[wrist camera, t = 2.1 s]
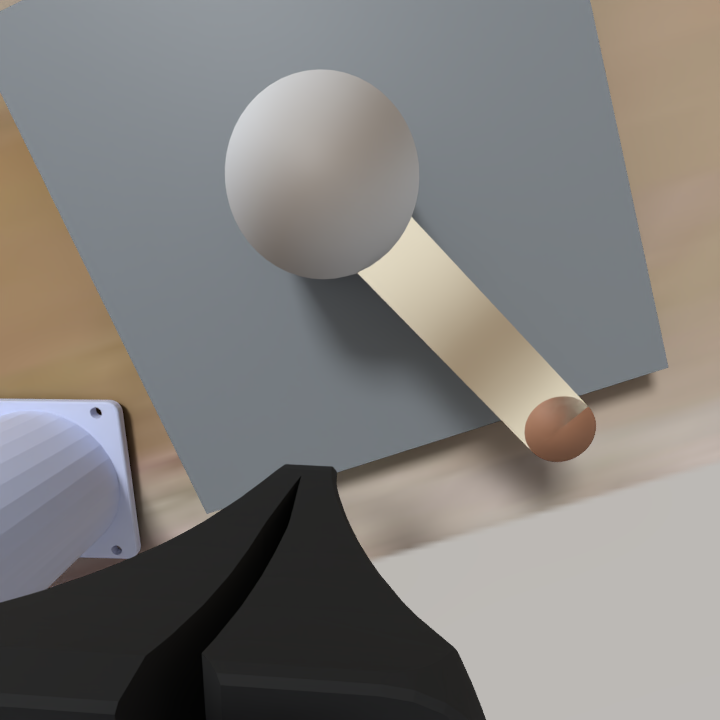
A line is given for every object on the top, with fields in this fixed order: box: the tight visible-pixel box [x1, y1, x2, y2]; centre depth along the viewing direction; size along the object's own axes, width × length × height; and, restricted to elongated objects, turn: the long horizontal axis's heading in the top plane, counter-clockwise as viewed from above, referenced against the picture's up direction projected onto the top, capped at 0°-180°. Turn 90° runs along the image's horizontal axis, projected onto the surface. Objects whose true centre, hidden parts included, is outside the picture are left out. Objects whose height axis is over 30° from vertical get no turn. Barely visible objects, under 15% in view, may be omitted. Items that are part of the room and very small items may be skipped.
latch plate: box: [0, 0, 668, 514], centre depth 16 cm, size 20×20×2 cm
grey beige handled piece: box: [225, 69, 596, 462], centre depth 13 cm, size 13×5×4 cm, turn 45°
